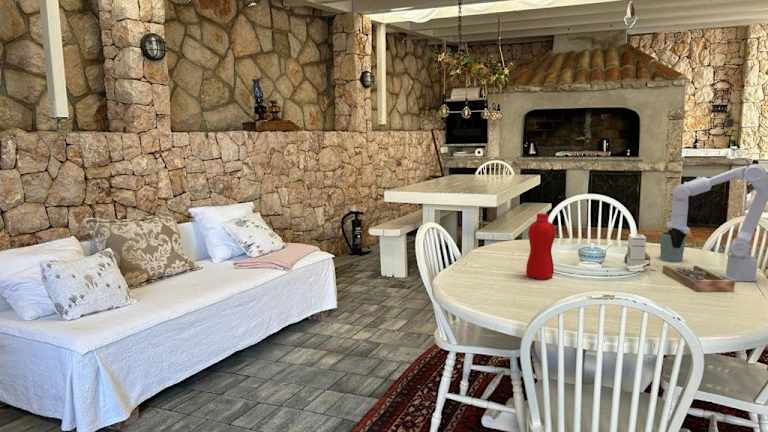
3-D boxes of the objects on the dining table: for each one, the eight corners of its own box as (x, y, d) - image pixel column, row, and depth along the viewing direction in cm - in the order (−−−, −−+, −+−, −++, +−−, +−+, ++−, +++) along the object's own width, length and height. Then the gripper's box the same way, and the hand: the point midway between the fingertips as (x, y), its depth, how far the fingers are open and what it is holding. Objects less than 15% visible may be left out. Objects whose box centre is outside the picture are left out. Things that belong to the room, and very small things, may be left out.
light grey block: (623, 271, 242) (625, 257, 238) (624, 257, 250) (625, 242, 245) (649, 274, 238) (651, 259, 234) (648, 259, 246) (650, 244, 242)
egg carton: (707, 283, 214) (708, 272, 213) (688, 283, 213) (689, 272, 212) (690, 275, 224) (691, 265, 223) (672, 275, 224) (673, 265, 223)
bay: (696, 272, 226) (696, 263, 226) (733, 291, 202) (735, 281, 201) (662, 272, 226) (663, 263, 226) (696, 291, 202) (697, 280, 201)
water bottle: (558, 275, 222) (561, 212, 218) (544, 281, 214) (548, 216, 210) (536, 271, 228) (539, 210, 224) (522, 276, 220) (525, 213, 216)
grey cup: (685, 259, 249) (687, 232, 247) (682, 264, 240) (685, 236, 238) (659, 256, 254) (662, 230, 252) (656, 261, 246) (659, 233, 244)
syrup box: (644, 272, 227) (647, 236, 225) (628, 271, 228) (631, 236, 226) (640, 268, 233) (643, 234, 230) (625, 267, 234) (628, 233, 231)
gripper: (660, 211, 234) (658, 243, 236) (678, 217, 219) (675, 251, 222) (677, 211, 234) (674, 243, 236) (696, 217, 219) (693, 251, 222)
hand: (676, 247), depth 229 cm, fingers closed
